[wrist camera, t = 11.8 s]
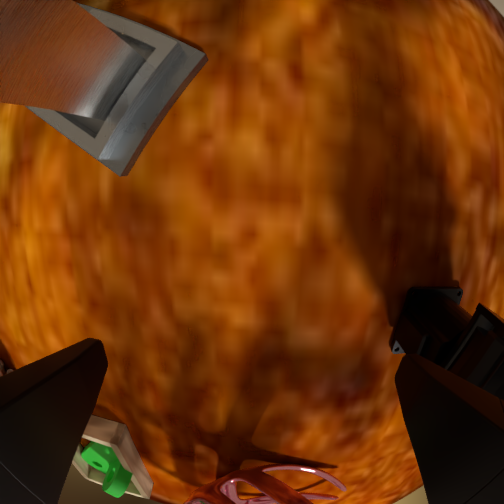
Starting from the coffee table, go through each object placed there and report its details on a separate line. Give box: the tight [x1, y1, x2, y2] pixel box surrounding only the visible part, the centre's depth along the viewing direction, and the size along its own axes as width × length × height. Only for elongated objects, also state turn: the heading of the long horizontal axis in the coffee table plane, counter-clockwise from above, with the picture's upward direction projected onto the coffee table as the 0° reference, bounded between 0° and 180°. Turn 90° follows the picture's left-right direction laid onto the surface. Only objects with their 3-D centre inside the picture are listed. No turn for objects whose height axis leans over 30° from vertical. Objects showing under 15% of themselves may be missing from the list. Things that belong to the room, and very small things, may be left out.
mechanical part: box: [81, 441, 135, 498], centre depth 26 cm, size 12×6×8 cm, turn 138°
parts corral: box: [72, 415, 154, 499], centre depth 27 cm, size 12×18×4 cm, turn 177°
